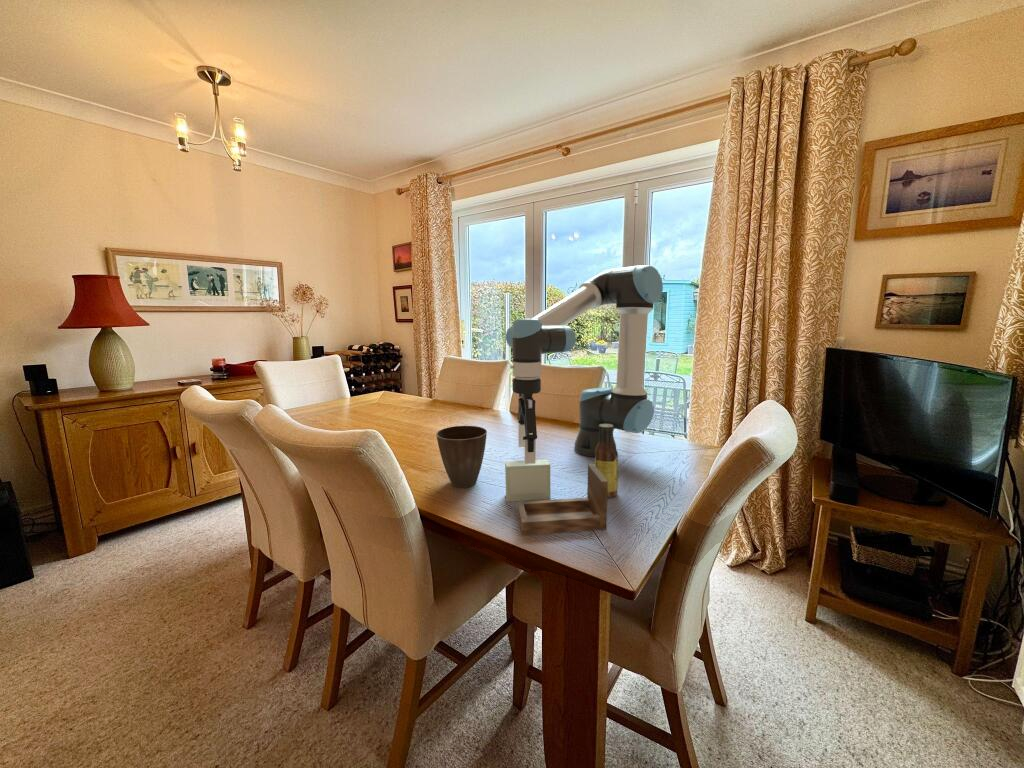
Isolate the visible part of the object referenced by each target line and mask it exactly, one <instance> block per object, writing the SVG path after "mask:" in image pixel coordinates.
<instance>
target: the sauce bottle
mask: <svg viewBox="0 0 1024 768" xmlns="http://www.w3.org/2000/svg"><path fill="white" fill-rule="evenodd" d="M614 430H615V428H614V426H613V425H612V424H600V425H599V443H598V445H597V446H596V449H595V457H594V465H595V466H596V468H597V469H598V470H599V471H600V472H601V474H602V475H603V476H604V477H605V479H606V480H607V481H608V490H607V499H610V498H614V497H616V496H617V494H618V488H619V487H618V486H619V484H618V483H619V481H618V479H619V478H618V477H619V463H618V462H619V455H618V450H617V446H616V447H615V444H614V441H613V436H614Z"/></svg>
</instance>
